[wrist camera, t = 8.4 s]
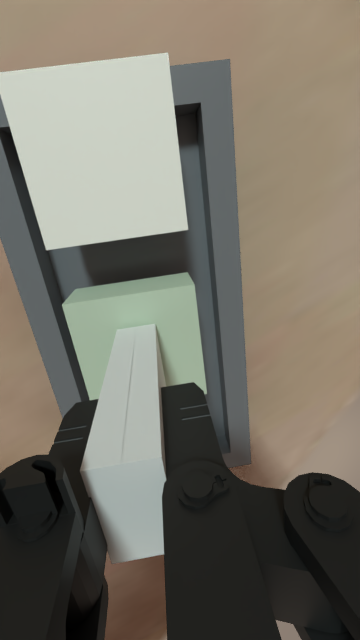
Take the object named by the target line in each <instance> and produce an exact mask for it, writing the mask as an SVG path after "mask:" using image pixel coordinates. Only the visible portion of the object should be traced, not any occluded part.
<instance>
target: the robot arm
mask: <svg viewBox="0 0 360 640" xmlns="http://www.w3.org/2000/svg"><path fill="white" fill-rule="evenodd" d="M107 551H108V554H109V557H110V560H111V563H112V564H115V563H121V562H126V561H131V560H136V559H142V558H147V557H152V556H158V555H163V554H164V565H165V590H166V616H167V640H281V637H280V633H279V630H278V627H277V624H276V620H279V621H283V622H287V623H291V624H293V625H294V626H295V628H296V630H297V632H298V634H299V636H300V638H301V639H302V640H360V492H359V491H358V490H356V489H355V488H354V487H352V486H351V485H349V484H348V483H347V482H345V481H344V480H341V479H339V478H336V477H334V476H331V475H329V474H322V473H308V474H304V475H299V476H297V477H296V478H295V479H293V480H292V481H291V482H289V484H288V486H287V488H286V490H281V489H274V488H266V487H260V486H256V485H251V484H249V483H247V482H245V481H242V480H240V479H239V478H238V477H237V476H235V475H234V474H233V473H232V472H231V471H230V470H229V469H228V467H227V466H226V464H225V462H224V460H223V457H222V453H221V450H220V446H219V443H218V439H217V436H216V433H215V429H214V426H213V422H212V419H211V416H210V412H209V408H208V406H207V401H206V398H205V395H204V391H203V390H202V389H201V388H200V387H199V386H198V385H196V384H195V383H194V382H191V383H185V384H179V385H173V386H167V387H166V382H165V377H164V371H163V365H162V359H161V354H160V348H159V342H158V336H157V331H156V325H155V324H149V325H143V326H137V327H130V328H124V329H117V331H116V335H115V339H114V343H113V347H112V350H111V354H110V358H109V362H108V366H107V369H106V373H105V377H104V381H103V385H102V389H101V392H100V396H99V399H95V400H89V401H83V402H77V403H75V404H74V405H73V407H72V408H71V409H70V410H69V411H68V412H67V413H66V414H65V415H64V417H63V420H62V422H61V425H60V427H59V432H57V435H56V437H55V440H54V444H53V445H52V447H51V450H50V452H49V455H35V456H32V457H28V458H25V459H22V460H20V461H18V462H16V463H15V464H13V465H11V466H9V467H7V468H6V469H5V470H4V471H2V472H1V473H0V640H104V637H105V628H106V618H107V608H108V585H107V582H106V579H105V576H104V569H105V561H106V553H107Z"/></svg>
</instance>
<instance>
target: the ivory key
mask: <svg viewBox="0 0 360 640" xmlns="http://www.w3.org/2000/svg"><path fill="white" fill-rule="evenodd" d="M0 95H1V99H2V102H3V106H4V109H5V112H6V116H7V119H8V123H9V126H10V129H11V133H12V136H13V140H14V143H15V146H16V150H17V153H18V157H19V160H20V163H21V167H22V170H23V173H24V177H25V180H26V184H27V187H28V190H29V194H30V197H31V201H32V204H33V207H34V211H35V214H36V218H37V221H38V224H39V228H40V231H41V235H42V238H43V241H44V245H45V248H46V250H52V249H59V248H66V247H73V246H80V245H87V244H94V243H100V242H107V241H114V240H121V239H128V238H135V237H142V236H149V235H156V234H163V233H170V232H177V231H184V230H188V223H187V215H186V206H185V197H184V188H183V180H182V171H181V162H180V153H179V145H178V136H177V127H176V118H175V110H174V101H173V92H172V83H171V75H170V66H169V57H168V53H161V54H153V55H144V56H136V57H127V58H119V59H110V60H102V61H93V62H85V63H76V64H68V65H59V66H51V67H42V68H34V69H25V70H17V71H8V72H0Z"/></svg>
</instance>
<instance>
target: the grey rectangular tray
mask: <svg viewBox="0 0 360 640" xmlns="http://www.w3.org/2000/svg"><path fill="white" fill-rule="evenodd" d="M170 75H171V83H172V92H173V101H174V110H175V118H176V127H177V136H178V145H179V153H180V162H181V171H182V180H183V188H184V197H185V206H186V215H187V223H188V230H184V231H177V232H170V233H163V234H156V235H149V236H142V237H135V238H128V239H121V240H114V241H107V242H100V243H94V244H87V245H80V246H73V247H66V248H59V249H52V250H46V248H45V245H44V241H43V238H42V235H41V231H40V228H39V224H38V221H37V218H36V214H35V211H34V207H33V204H32V201H31V197H30V194H29V190H28V187H27V184H26V180H25V177H24V173H23V170H22V167H21V163H20V160H19V157H18V153H17V150H16V146H15V143H14V140H13V136H12V133H11V129H10V126H9V123H8V119H7V116H6V112H5V109H4V106H3V102H2V99H1V95H0V238H1V241H2V244H3V247H4V250H5V253H6V256H7V259H8V262H9V264H10V267H11V270H12V273H13V276H14V279H15V282H16V285H17V288H18V290H19V293H20V296H21V299H22V302H23V305H24V308H25V311H26V314H27V316H28V319H29V322H30V325H31V328H32V331H33V334H34V337H35V340H36V342H37V345H38V348H39V351H40V354H41V357H42V360H43V363H44V366H45V368H46V371H47V374H48V377H49V380H50V383H51V386H52V389H53V391H54V394H55V397H56V400H57V403H58V406H59V409H60V412H61V415H62V417H64V415H65V414H66V413H67V412H68V411H69V410H70V409H71V408H72V407H73V405H74V404H75V403H77V402H83V401H89V400H90V399H89V395H88V392H87V389H86V385H85V382H84V378H83V375H82V372H81V368H80V365H79V362H78V358H77V355H76V351H75V348H74V345H73V341H72V338H71V334H70V331H69V328H68V324H67V321H66V317H65V314H64V311H63V307H62V304H63V303H64V302H65V300H66V299H67V298H68V297H69V296H70V295H71V294H72V292H73V291H74V290H75V289H79V288H85V287H92V286H99V285H105V284H112V283H119V282H125V281H132V280H139V279H145V278H152V277H159V276H165V275H172V274H179V273H185V272H188V274H189V276H190V277H191V279H192V281H193V283H194V284H195V292H196V301H197V310H198V319H199V328H200V336H201V345H202V354H203V363H204V371H205V380H206V389H207V394H204V395H205V398H206V401H207V406H208V408H209V412H210V416H211V419H212V422H213V426H214V429H215V433H216V436H217V439H218V443H219V446H220V450H221V453H222V457H223V460H224V462H225V464H226V466H227V467H228V468H231V467H237V466H242V465H248V464H251V452H250V433H249V414H248V395H247V376H246V357H245V338H244V319H243V300H242V281H241V262H240V243H239V224H238V205H237V186H236V167H235V148H234V128H233V109H232V90H231V71H230V59H225V60H217V61H209V62H200V63H192V64H184V65H175V66H170Z"/></svg>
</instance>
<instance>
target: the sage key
mask: <svg viewBox="0 0 360 640" xmlns="http://www.w3.org/2000/svg"><path fill="white" fill-rule="evenodd" d="M62 307H63V311H64V314H65V317H66V321H67V324H68V328H69V331H70V334H71V338H72V341H73V345H74V348H75V351H76V355H77V358H78V362H79V365H80V368H81V372H82V375H83V378H84V382H85V385H86V389H87V392H88V395H89V399H90V400H95V399H99V396H100V392H101V389H102V385H103V381H104V377H105V373H106V369H107V366H108V362H109V358H110V354H111V350H112V347H113V343H114V339H115V335H116V331H117V329H124V328H130V327H137V326H143V325H149V324H155V325H156V331H157V336H158V342H159V348H160V354H161V359H162V365H163V371H164V377H165V382H166V387H167V386H173V385H179V384H185V383H191V382H194V383H195V384H196V385H198V386H199V387H200V388H201V389H202V390H203V391H204V394H207V389H206V380H205V371H204V363H203V354H202V345H201V336H200V328H199V319H198V310H197V301H196V292H195V284H194V283H193V281H192V279H191V277H190V276H189V274H188V272H185V273H179V274H172V275H165V276H159V277H152V278H145V279H139V280H132V281H125V282H119V283H112V284H105V285H99V286H92V287H85V288H79V289H75V290H74V291H73V292H72V294H71V295H70V296H69V297H68V298H67V299H66V300H65V302H64V303H63V304H62Z"/></svg>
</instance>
